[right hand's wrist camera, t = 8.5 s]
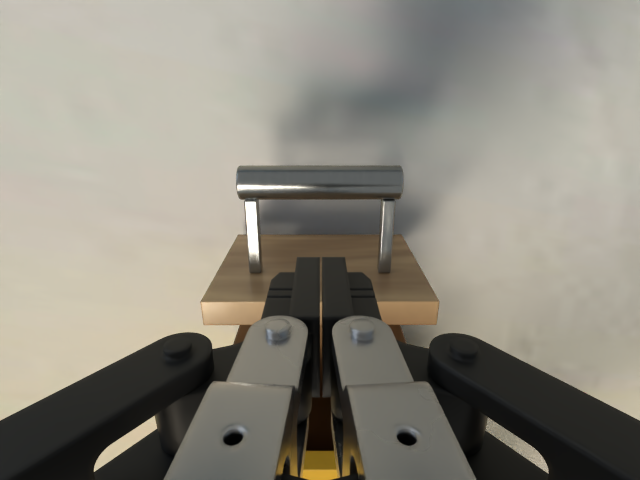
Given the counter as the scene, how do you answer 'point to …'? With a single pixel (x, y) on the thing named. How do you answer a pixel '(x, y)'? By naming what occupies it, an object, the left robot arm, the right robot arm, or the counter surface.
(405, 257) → the drawer
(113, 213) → the counter surface
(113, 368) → the right robot arm
